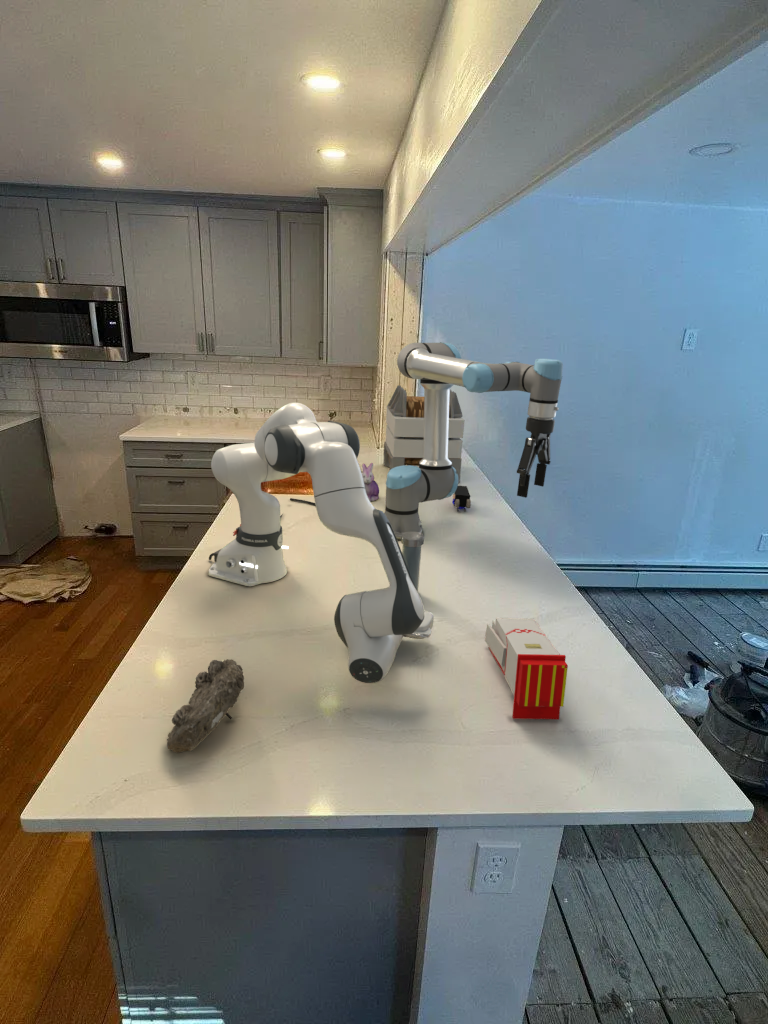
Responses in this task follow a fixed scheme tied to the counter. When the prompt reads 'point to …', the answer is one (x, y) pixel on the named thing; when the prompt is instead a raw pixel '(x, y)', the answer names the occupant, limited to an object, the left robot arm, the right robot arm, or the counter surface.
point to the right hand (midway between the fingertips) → (530, 490)
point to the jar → (413, 562)
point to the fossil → (206, 705)
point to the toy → (529, 667)
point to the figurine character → (461, 498)
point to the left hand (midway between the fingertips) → (396, 602)
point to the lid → (412, 539)
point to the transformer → (418, 431)
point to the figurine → (370, 483)
